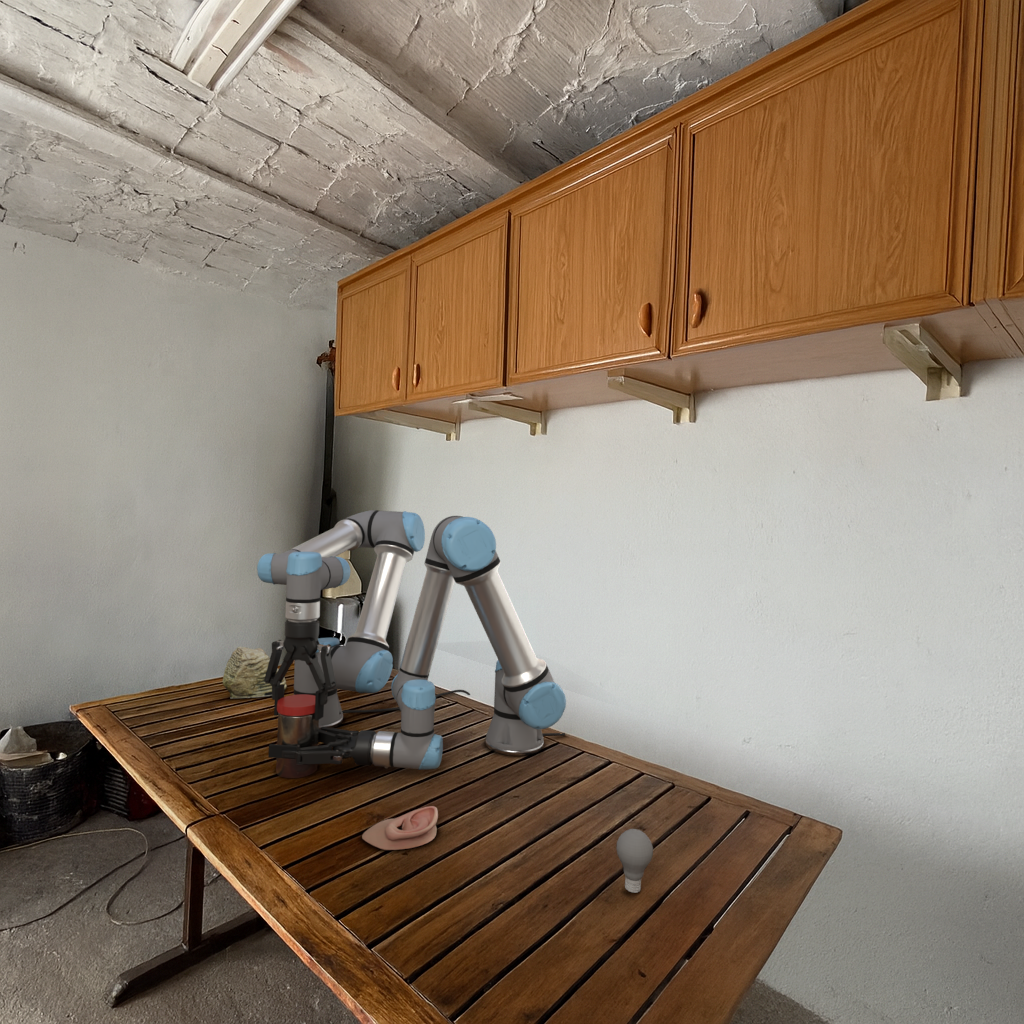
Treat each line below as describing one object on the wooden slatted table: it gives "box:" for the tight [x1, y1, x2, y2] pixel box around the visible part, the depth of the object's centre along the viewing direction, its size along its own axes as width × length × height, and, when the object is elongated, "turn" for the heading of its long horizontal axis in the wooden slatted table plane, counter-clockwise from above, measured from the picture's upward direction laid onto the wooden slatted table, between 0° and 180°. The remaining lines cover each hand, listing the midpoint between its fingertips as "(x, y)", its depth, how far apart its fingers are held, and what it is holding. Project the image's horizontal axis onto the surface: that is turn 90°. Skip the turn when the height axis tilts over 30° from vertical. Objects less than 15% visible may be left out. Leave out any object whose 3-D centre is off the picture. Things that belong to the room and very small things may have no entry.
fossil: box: [222, 646, 288, 699], centre depth 198 cm, size 9×18×15 cm, turn 132°
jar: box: [275, 713, 319, 779], centre depth 146 cm, size 9×9×16 cm
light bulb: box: [615, 828, 654, 894], centre depth 106 cm, size 6×6×10 cm
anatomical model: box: [361, 805, 439, 851], centre depth 120 cm, size 13×4×12 cm
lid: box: [277, 694, 315, 716], centre depth 146 cm, size 10×10×2 cm
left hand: (298, 716), depth 146 cm, fingers closed on lid, 9 cm apart
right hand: (278, 742), depth 146 cm, fingers closed on jar, 9 cm apart
